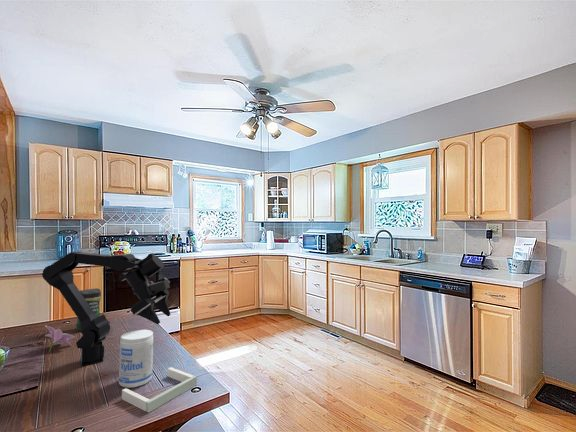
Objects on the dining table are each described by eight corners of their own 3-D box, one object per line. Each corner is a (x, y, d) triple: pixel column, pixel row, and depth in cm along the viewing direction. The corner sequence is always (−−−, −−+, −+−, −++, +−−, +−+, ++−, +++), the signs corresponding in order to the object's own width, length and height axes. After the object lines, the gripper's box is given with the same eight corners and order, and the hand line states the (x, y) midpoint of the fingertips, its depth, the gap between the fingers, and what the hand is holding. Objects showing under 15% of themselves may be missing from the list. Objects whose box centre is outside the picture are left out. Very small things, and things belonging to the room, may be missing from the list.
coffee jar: (79, 333, 140) (79, 292, 140) (74, 328, 145) (75, 289, 146) (102, 327, 147) (103, 288, 148) (97, 324, 152) (98, 286, 153)
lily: (75, 353, 121) (83, 327, 126) (41, 350, 113) (51, 322, 118) (62, 356, 127) (70, 331, 132) (28, 353, 119) (38, 327, 124)
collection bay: (121, 399, 87) (121, 390, 87) (170, 374, 101) (170, 367, 101) (148, 412, 81) (148, 403, 81) (196, 384, 95) (196, 376, 95)
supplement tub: (116, 391, 91) (117, 341, 91) (120, 377, 100) (121, 331, 100) (152, 385, 95) (153, 337, 95) (153, 371, 103) (153, 327, 104)
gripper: (146, 275, 103) (172, 313, 102) (168, 267, 121) (190, 300, 121) (118, 294, 102) (145, 333, 102) (145, 284, 121) (167, 316, 121)
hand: (164, 319), depth 111 cm, fingers open, 9 cm apart
